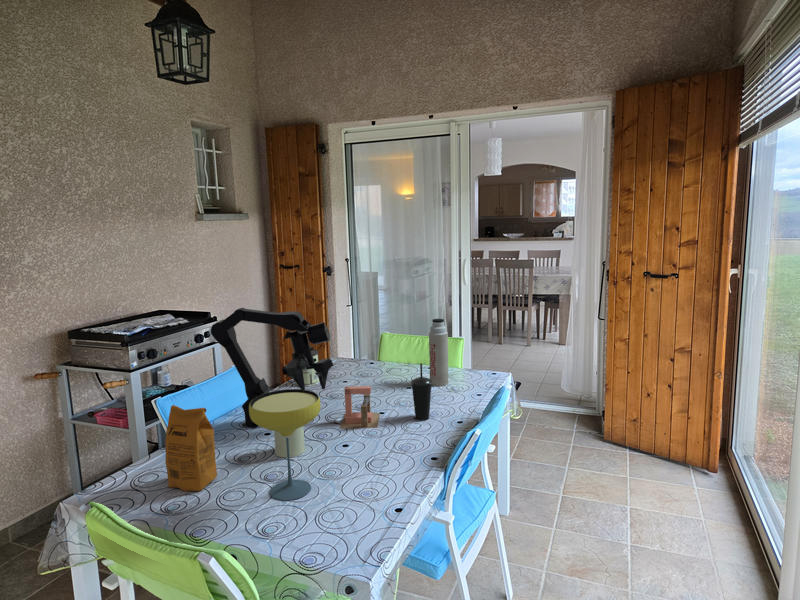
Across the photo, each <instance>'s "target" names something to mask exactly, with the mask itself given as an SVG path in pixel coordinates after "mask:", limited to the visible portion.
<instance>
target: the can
mask: <svg viewBox="0 0 800 600" xmlns="http://www.w3.org/2000/svg"><path fill="white" fill-rule="evenodd" d="M273 432H274V433H273V434H274V435H273V436H274V454H275V455H276V456H277V457H280V458H282V459H283V458H284V459H285V458H286V459H287V445H286V438H284V437H283V436H282V435H281V434H280V433H279V432H277V431H273ZM304 432H305V429H304V426H302V427H300V428H298V429H296V430H295V431H294V432H293V434H292V435H291V436H290V437H289V454H290V458H295V457H299V456H302V454H304V453H305V452H306V447H305V433H304Z"/></svg>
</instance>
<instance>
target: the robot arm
mask: <svg viewBox="0 0 800 600" xmlns="http://www.w3.org/2000/svg"><path fill="white" fill-rule="evenodd" d="M242 321H243V322H251V323H258V324H267V325H274V326H277V327H279V328H281V329H284V330H287V331H286V333H285V334H284V336H283V339H284V340H287V339H290V341H291V346H292V351H293V353H291V354H292V355H291V357H292V359H291V360H290V361H288V363H287V364H286V365H284V366H283V367H282V369H281V371H282V374H283V376H286V377H289V378H291V379H293V380H294V382H295V383H297V384H298V385H297V384H296V385H297V386H298V387H299V388H300V389H301V390H306V386H305V384H304V377H303V370H305V369H314V370H315V371H316V373H315V374H316V375H317V376H318V378H319V381H320V382H319V383H320V387H321V390H323V391H324V390H325V389H326V385H327V379H328V375H329V370H331V369H332V367H333V366H334V363H333V360H332V359H331V358H323V359H320V360H318V362H316V361H317V360H316V358H313V355H312V352H311V351H312V350H313V349H314V347H313V346H310V344H312V345H314V346H315V345H319V344H322V343H327V342H330V341H331V334H330V330H329V329H328V326H327V325H326V322H325V321H323V322H319V323H316V324H311V323H310V322H309V321H307V319H305V318H304V315H303V314H302V313H301V312H299V311H295V310H292V311H282V312H275V311H265V310H258V309H251V308H250V309H249V308H245V307H240V308H237V309H235V310H234V312H232V313H231V314H230V315H229V316H227V317H226V318H225V319H221V320H219V321H217V322H215V323H213V324H212V325H211V328H210V334H211V336H212V337H213V339H215V341H216V342H217V343H218V344H219V345H220V346H222V347H223V349H225V351H226V353H227V355H228V357H229V358H230V360H231V362H232V364H233V365H234V367H235V369H236V371H237V373H238V374H239V376H240V378H241V380H242V382H243V384H244V389H245V390H244V391H245V395H246V397H247V399H246V401H245V402H244V403H243V404H242V405H241V408H242V410H243V412H244V422H242V423H241V424H242V426H246V427H249V428H258V427H259V426H258V425H257V424H255V423H254V422H253V421H252V420H251V418H250V414H249V404H250V402H251V401H252V400H253V399H254V398H256V397H257V396H260V395H262V394H265V393H269V392H270V386H269V385H268V384H267V381H266V379H265V378H264V377H263V378H259V377H258V376H257V374H256V373H255V372H254V369H253V368H252V366H251V365H250V363H249V361H248V359H247V357H246V356H245V354H244V351H243V349H242V348H241V345H240V344H239V343H238V341H237V332H236V329H235V327H236V326H237V325H238V324H239V323H241V322H242ZM314 362H316V363H314ZM309 366H310V367H309Z"/></svg>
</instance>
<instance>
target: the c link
mask: <svg viewBox="0 0 800 600" xmlns="http://www.w3.org/2000/svg"><path fill="white" fill-rule="evenodd" d="M364 394H370V395H371V394H372V386H371V385H365V386H361V385H360V386H359V385H357V386H345V387H344V405H345V406H344V409H345V413H346V417H345V423H361V411H360V412H359V411H357V412H353V401H352V395H364ZM372 413H373V411H370V412H367V414H368V423H371V422H372Z"/></svg>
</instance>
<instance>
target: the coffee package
mask: <svg viewBox="0 0 800 600" xmlns="http://www.w3.org/2000/svg"><path fill="white" fill-rule="evenodd" d="M207 411H208V410H207V408H206V407H198V408H197V407H196V408H188V409H184V408H181V407H179V406H178V405H174V404H172V405H171V406H170V410H169V415H168V422H167V427H166V435H165V467H166V471H167V472H166V474H167V482H168V483H167V484H168V488H178V489H180V490H182V491H183V492H201V491H203V490H204V489H205V488H206V487H207V486H208V485H209V484H211V482H212V481H215V480H216V478H217V477H218V473H217V472H218V471H217V462H216V445H215V444H216V443H215V429H214V428H213V426H212V424H211V422H210V420H209V419H208V417H207V415H206V413H207Z"/></svg>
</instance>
